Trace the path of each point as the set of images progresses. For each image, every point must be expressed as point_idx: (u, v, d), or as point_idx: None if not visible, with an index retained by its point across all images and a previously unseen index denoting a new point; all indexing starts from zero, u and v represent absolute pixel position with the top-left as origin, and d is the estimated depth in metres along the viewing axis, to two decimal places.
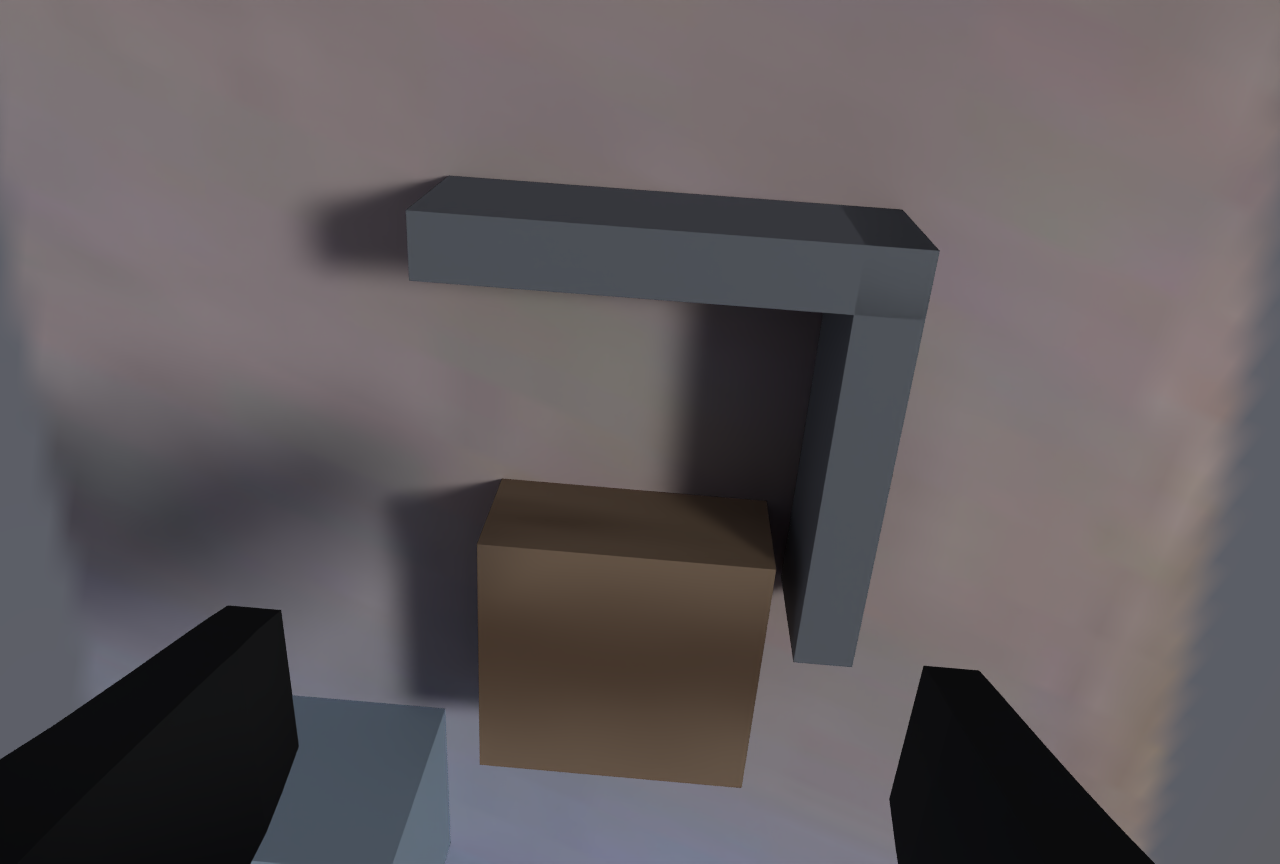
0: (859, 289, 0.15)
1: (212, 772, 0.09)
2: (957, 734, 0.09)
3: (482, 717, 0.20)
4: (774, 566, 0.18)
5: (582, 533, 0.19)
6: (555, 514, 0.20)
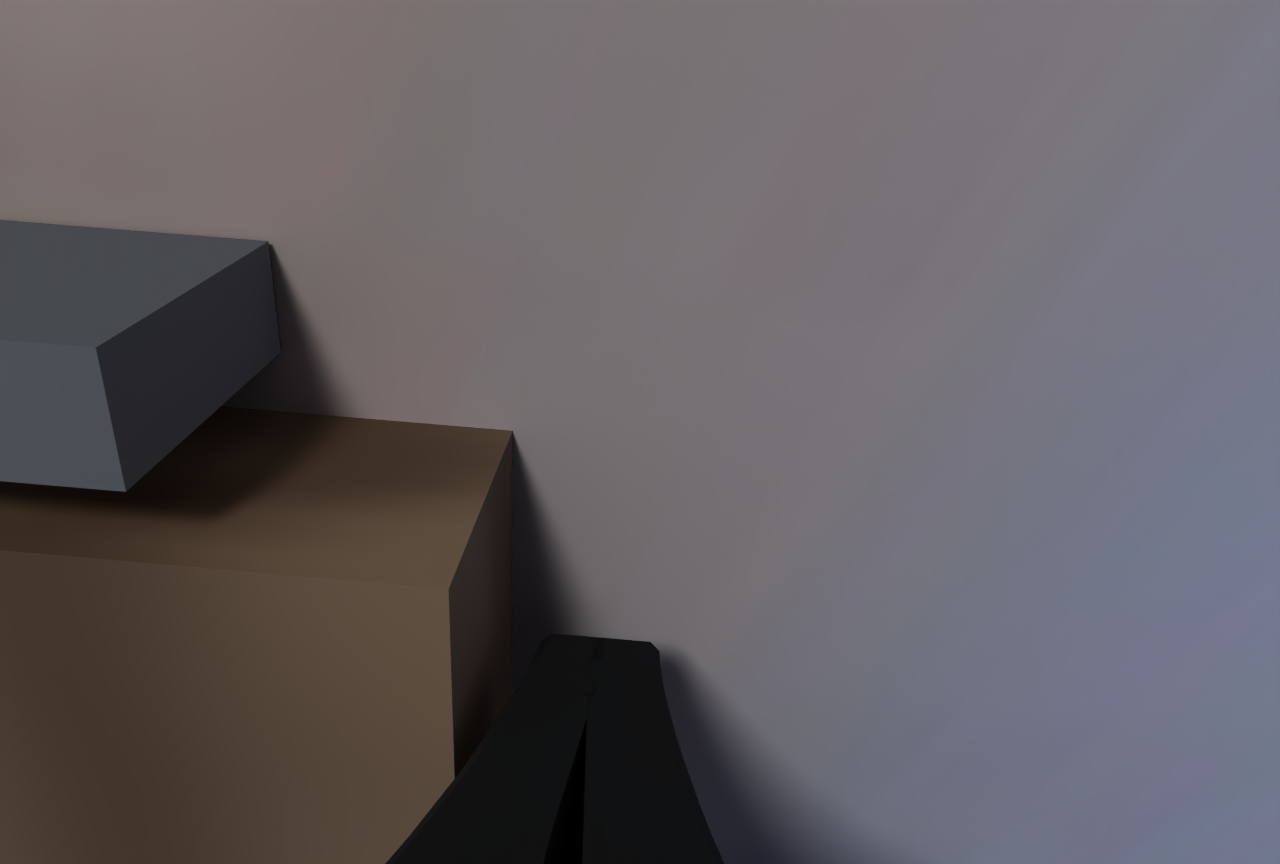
0: None
1: (580, 805, 0.09)
2: None
3: None
4: None
5: None
6: None
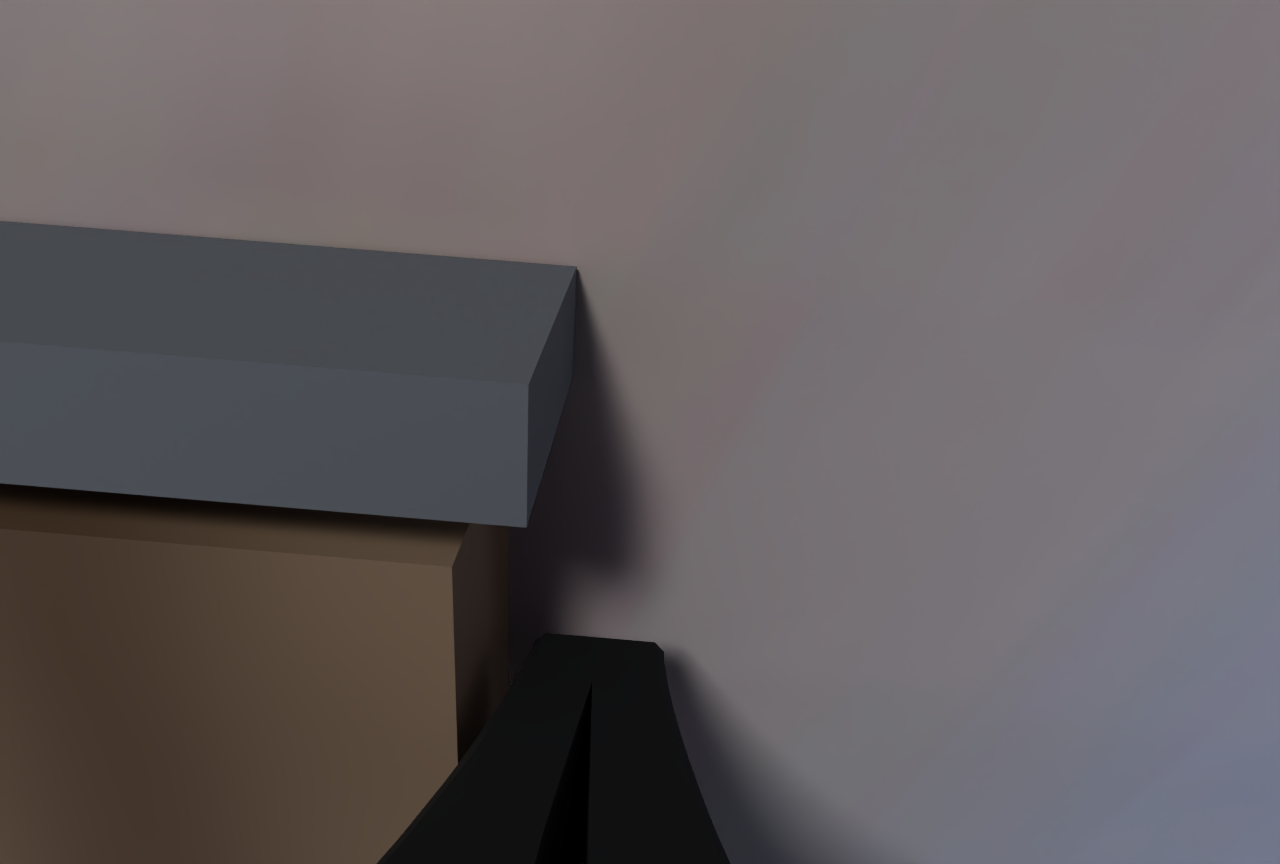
0: None
1: (574, 804, 0.09)
2: (592, 702, 0.09)
3: None
4: None
5: None
6: None
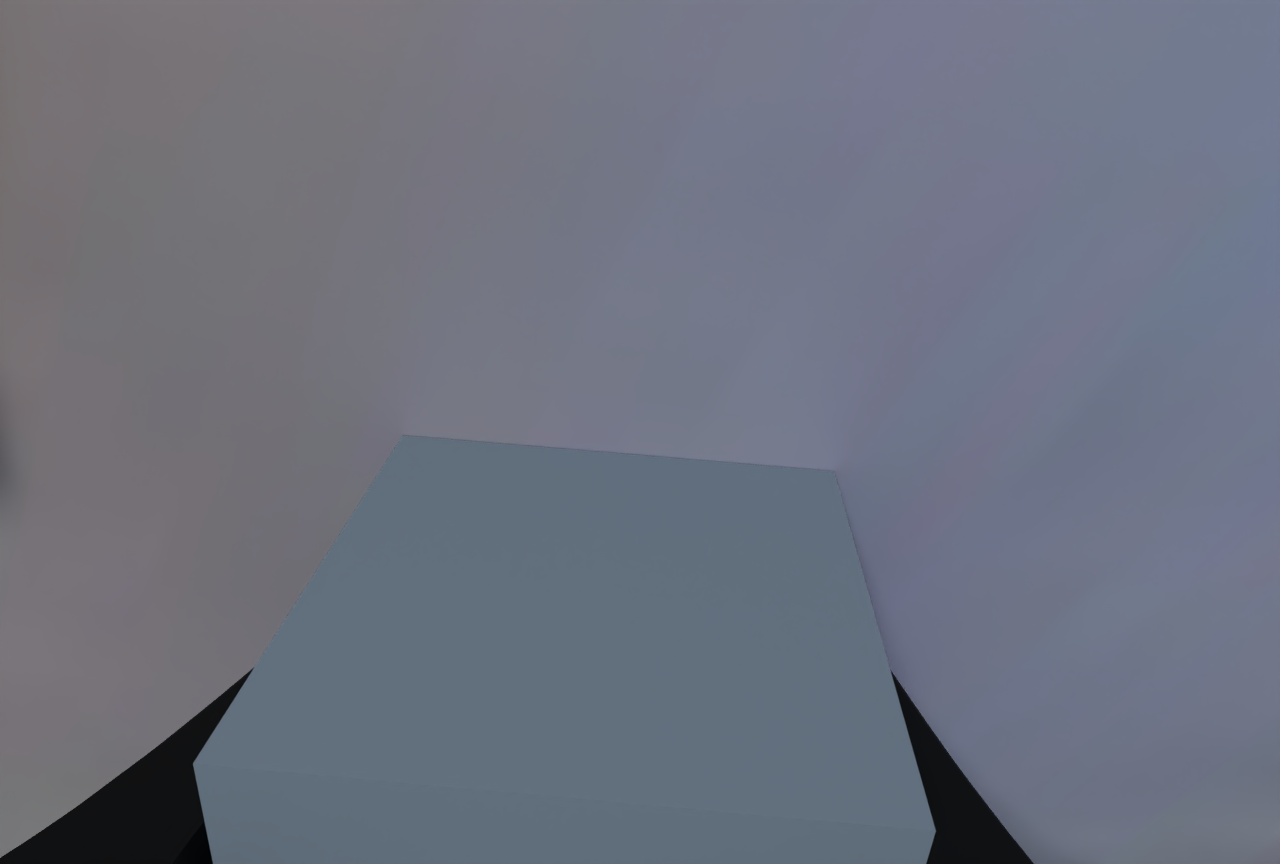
0: None
1: None
2: None
3: None
4: None
5: None
6: None
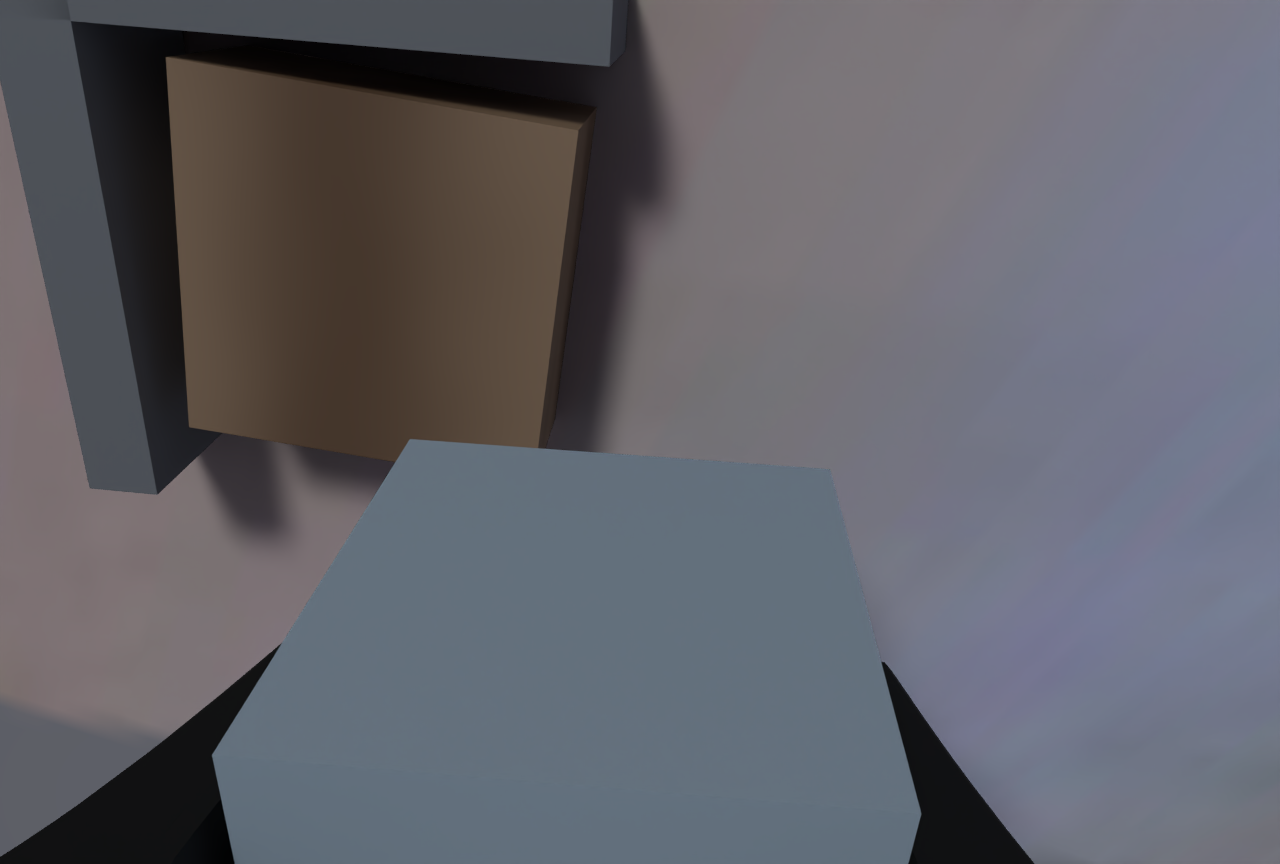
0: (38, 16, 0.13)
1: None
2: None
3: None
4: (169, 58, 0.13)
5: None
6: None
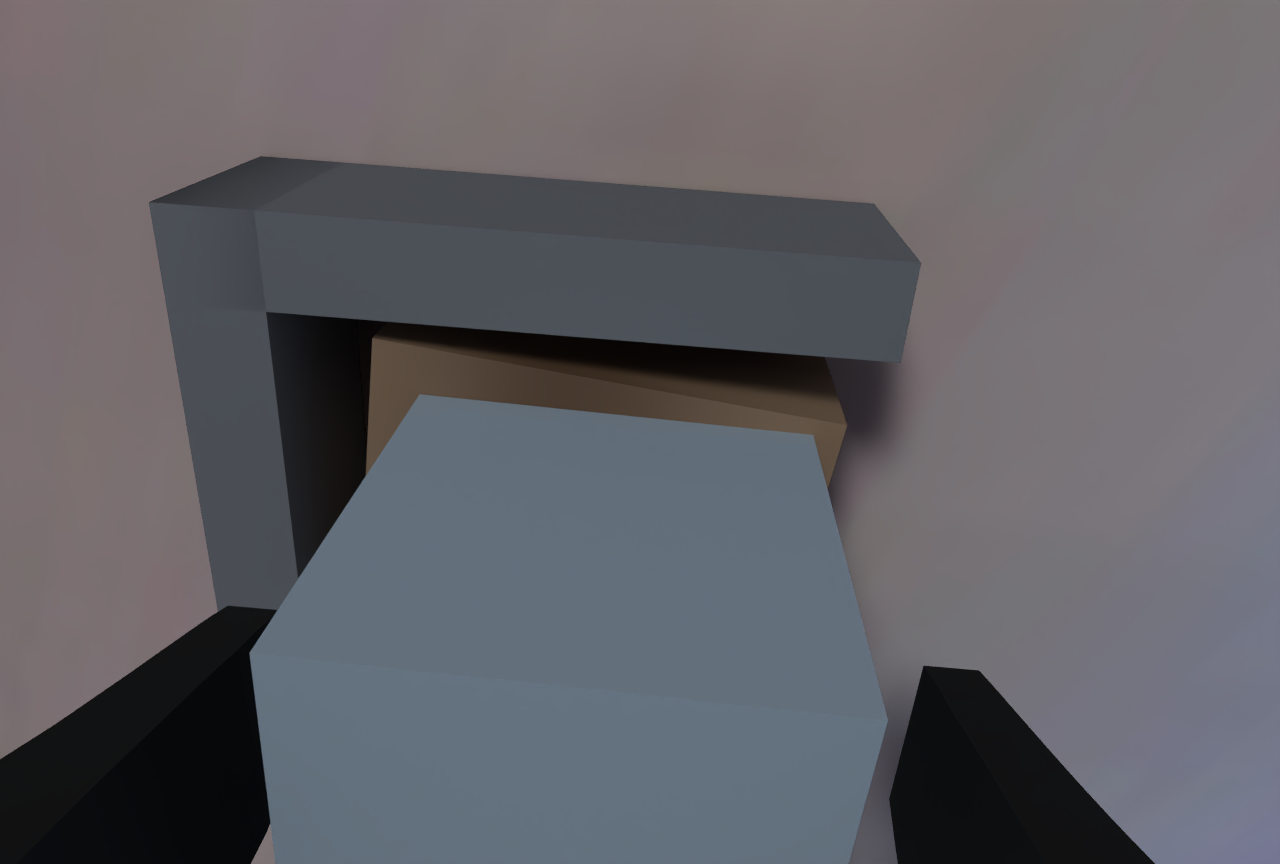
0: (228, 307, 0.11)
1: (212, 772, 0.09)
2: (957, 734, 0.09)
3: None
4: (374, 337, 0.12)
5: None
6: None
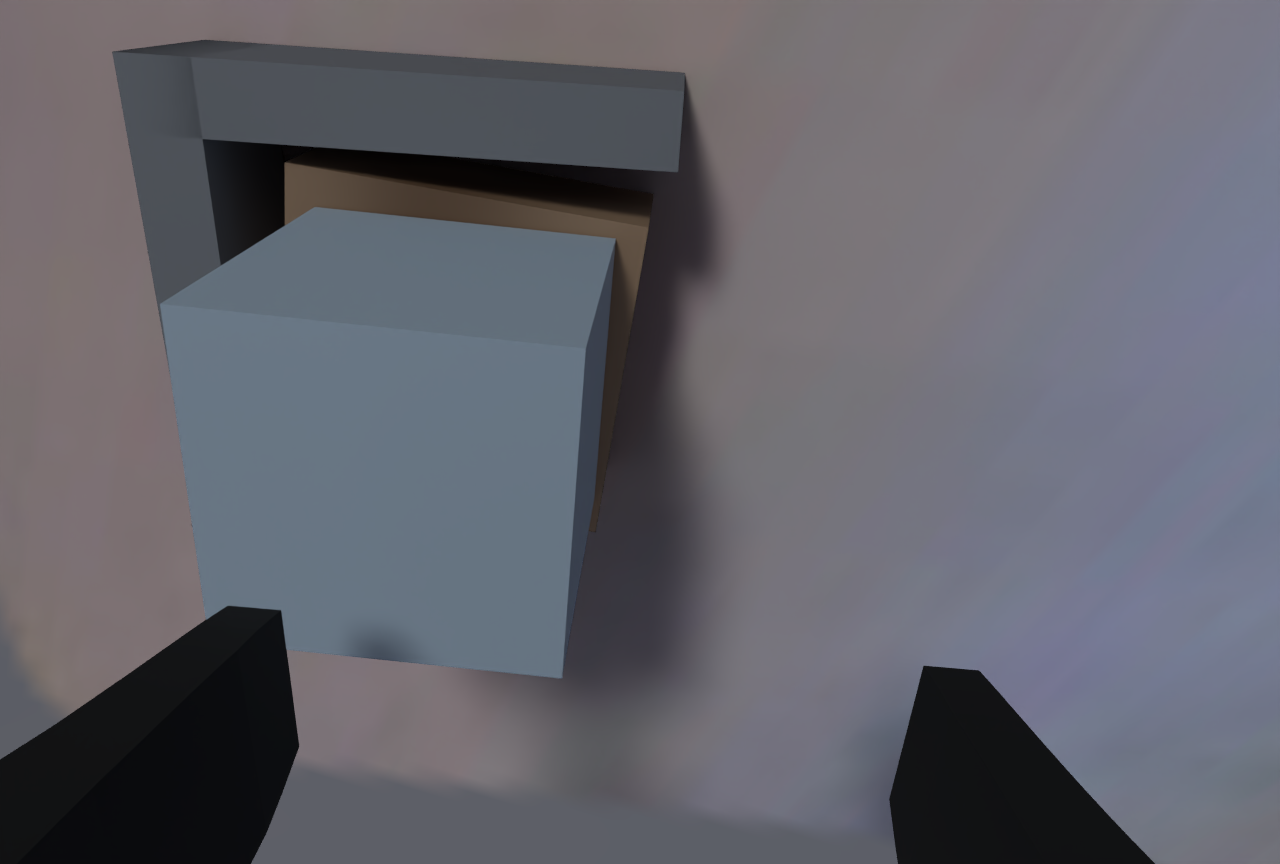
0: (173, 135, 0.15)
1: (212, 772, 0.09)
2: (957, 734, 0.09)
3: None
4: (286, 162, 0.15)
5: None
6: None
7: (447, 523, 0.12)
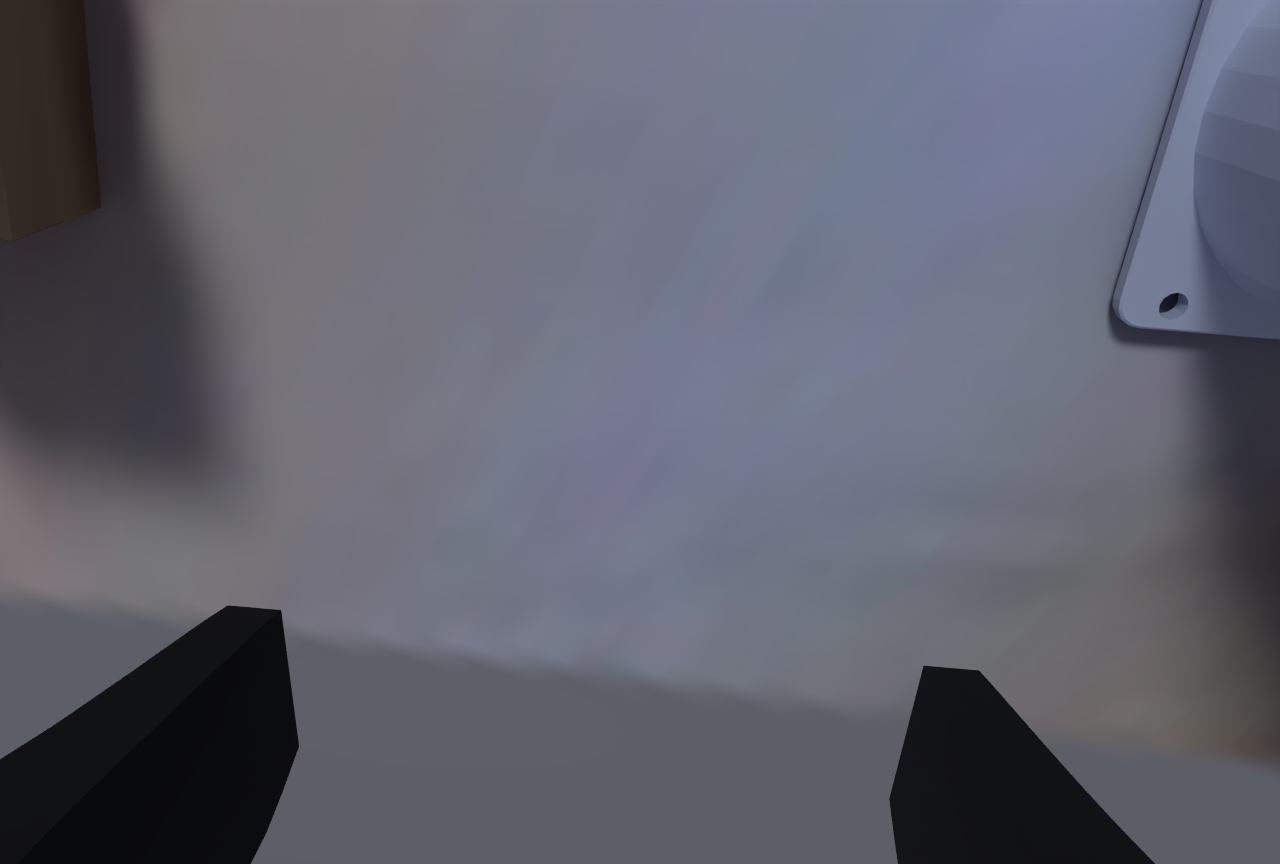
0: None
1: (212, 772, 0.09)
2: (957, 734, 0.09)
3: None
4: None
5: None
6: None
7: None
